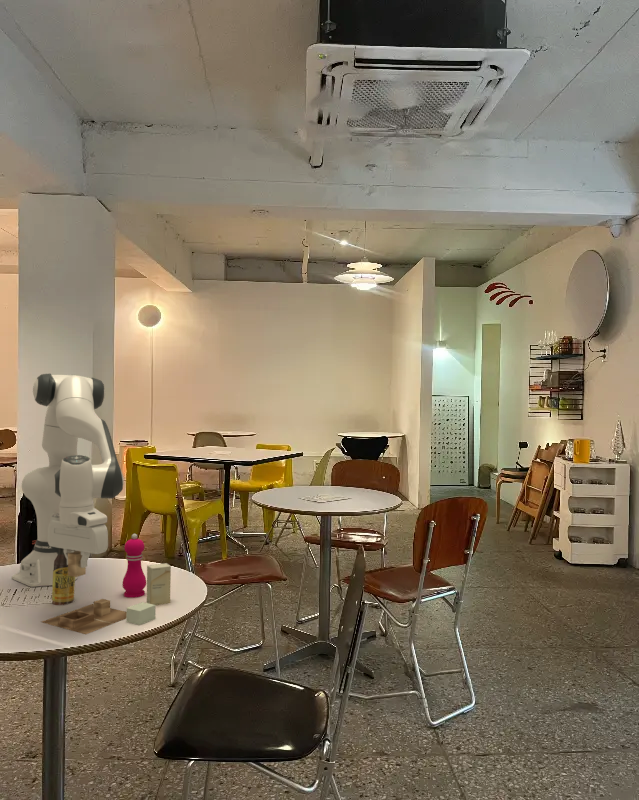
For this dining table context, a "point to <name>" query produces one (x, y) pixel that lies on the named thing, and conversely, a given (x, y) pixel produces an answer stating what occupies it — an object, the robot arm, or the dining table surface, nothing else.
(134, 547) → the pepper mill
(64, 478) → the robot arm
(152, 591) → the skincare box
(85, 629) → the board
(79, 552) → the oak peg
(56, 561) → the sauce bottle
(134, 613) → the housing
